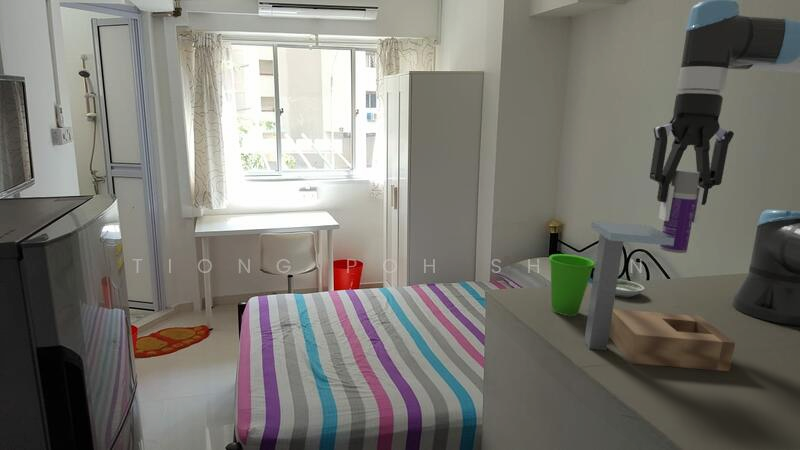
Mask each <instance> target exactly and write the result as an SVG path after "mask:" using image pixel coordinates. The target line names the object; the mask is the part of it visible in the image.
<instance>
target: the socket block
mask: <svg viewBox="0 0 800 450" xmlns="http://www.w3.org/2000/svg"><path fill="white" fill-rule="evenodd" d="M608 339H610V340H611V341H612V342H613V344H614V345H615V346H616V347H617V348H618V350H619V351H620V352H621V353H622V355H624V357H625V358H626V359H627V360H628V361H629V363H630V364H635V365H636V364H638V365H639V364H640V365H649V366H659V367H661V366H662V367H673V368H684V369H685V368H686V369H687V368H688V369H696V370H697V369H698V370H709V371H721V372H730V370H731V365H732V361H733V356H734V351H735V346H736V342H735V341H734V340H732V339H731V338H730V337H728V336H727V335H725V334H724V333H722V332H721V331H720V330H719V329H718V328H716V327H715V326H713V325H712V324H710V323H709V322H708V321H706V320H705V319H704V318H702V316H699V315H691V314H678V313H677V314H676V313H665V312H656V311H655V312H654V311H653V312H652V311H640V310H628V309H627V310H626V309H615V308H613V312H612V318H611V325H610V331H609V338H608Z"/></svg>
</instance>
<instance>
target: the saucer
mask: <svg viewBox="0 0 800 450" xmlns="http://www.w3.org/2000/svg"><path fill="white" fill-rule="evenodd" d="M643 292H645V287H644V286H643V284H642V285H641V284H640V283H638V282H634V281H630V280H626V279H620V278H618V280H617V286H616V293H615V297H616V296H617V297H622V298H631V297H634V296H637V295H640V294H641V293H643Z"/></svg>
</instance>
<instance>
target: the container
mask: <svg viewBox="0 0 800 450" xmlns="http://www.w3.org/2000/svg"><path fill="white" fill-rule="evenodd" d="M699 175H700V172H697V171H696V170H686V169H685V170H684V169H676V172H675V174H674V176H673V179H672V181H671V183H670V185H672V186H674V192H673V198H672V204H671V210H670V216H669V221H664V220H663V226H662V231H661V232H663V233H665V234H667V235H669V236H671V237H673V238H675V239H674V245H661V244H659V249H660V250H662V251H665V252H668V253H669V252H670V253H674V254H675V253H676V254H686V253H687V252H688V249H689V247H688V246H689V241H690V236H691V230H692V225H693V222H692V219H693V214H694V208H695V202H696V196H697V189H698V187H699V185H698V182H699Z"/></svg>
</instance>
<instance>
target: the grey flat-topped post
mask: <svg viewBox="0 0 800 450" xmlns="http://www.w3.org/2000/svg"><path fill="white" fill-rule="evenodd" d="M590 228H591V229H592V230H594V231H595V232H597V233H598V234H599V236H598V237H599V239H598V245H597V251H596V259H595V266H594V271H593V277H592V278H593V279H592V285H591V286H592V287H591V292H590V293H591V294H590V299H589V305H588V313H587V318H586V325H585V334H584V339H583V340H584V341H585V342H586V344H587V345H586V344H585V345H586V346H588V347H587V348H588V349H589V350H598V351H607V349H608V342H609V339H610V338H609V331H610V325H611V318H612V312H613V309H614V305H615V298H616V295H615V293H616V286H617V280H618V279H619V272H620V266H621V259H622V255H623V254H622V253H623V246H624V242H626V243H637V244H648V245H649V244H650V245H660V244H661V245H674V239H675V238H673V237H671V236H669V235H667V234H665V233H663V232H662V231H661V230H659V229H658V228H655V227H653V226H651V225H647V224H634V223H620V222H608V221H607V222H606V221H597V220H592V221H591V225H590ZM584 341H583V342H584ZM585 342H584V343H585Z"/></svg>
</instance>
